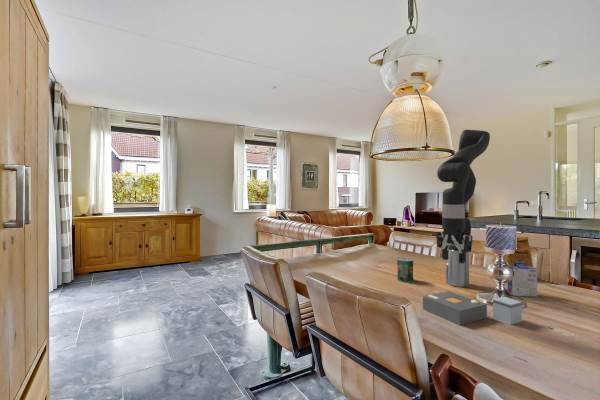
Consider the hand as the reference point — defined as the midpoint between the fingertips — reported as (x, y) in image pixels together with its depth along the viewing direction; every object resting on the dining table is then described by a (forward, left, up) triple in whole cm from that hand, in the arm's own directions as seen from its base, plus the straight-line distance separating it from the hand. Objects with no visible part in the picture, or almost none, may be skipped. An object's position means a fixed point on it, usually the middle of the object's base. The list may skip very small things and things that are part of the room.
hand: (453, 261), depth 111 cm
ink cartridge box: (-2, +45, -20) cm, 49 cm away
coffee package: (-19, +71, -20) cm, 76 cm away
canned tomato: (-41, +15, -20) cm, 48 cm away
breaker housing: (0, 0, -20) cm, 20 cm away
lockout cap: (+12, +12, -20) cm, 26 cm away
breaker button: (0, 0, -20) cm, 20 cm away
